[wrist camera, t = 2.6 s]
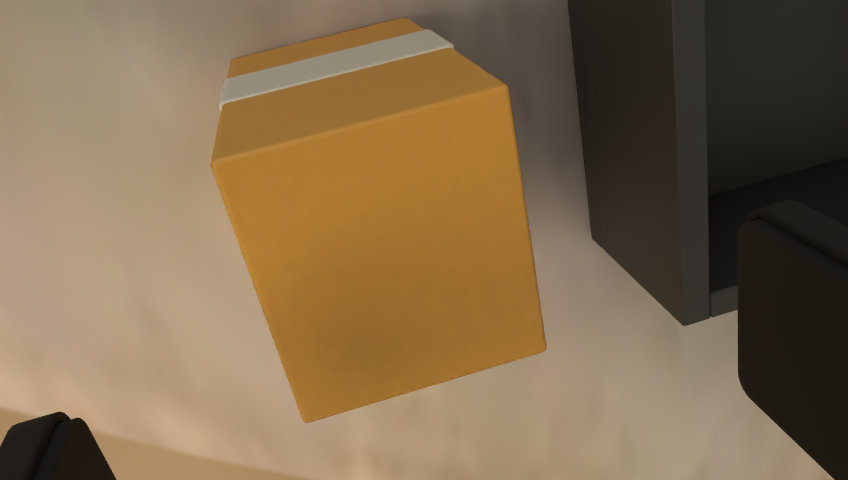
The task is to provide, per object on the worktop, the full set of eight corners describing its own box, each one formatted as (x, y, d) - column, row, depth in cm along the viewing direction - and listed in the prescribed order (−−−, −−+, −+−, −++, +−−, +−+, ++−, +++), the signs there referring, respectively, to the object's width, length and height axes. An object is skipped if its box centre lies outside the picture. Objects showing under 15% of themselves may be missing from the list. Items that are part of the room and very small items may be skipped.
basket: (591, 238, 24) (683, 327, 19) (552, -143, 19) (665, -166, 13) (943, 137, 25) (1119, 194, 20) (999, -243, 20) (1257, -299, 15)
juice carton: (227, 57, 19) (203, 160, 11) (408, 13, 19) (512, 79, 11) (286, 238, 21) (302, 428, 13) (444, 195, 22) (551, 353, 14)
